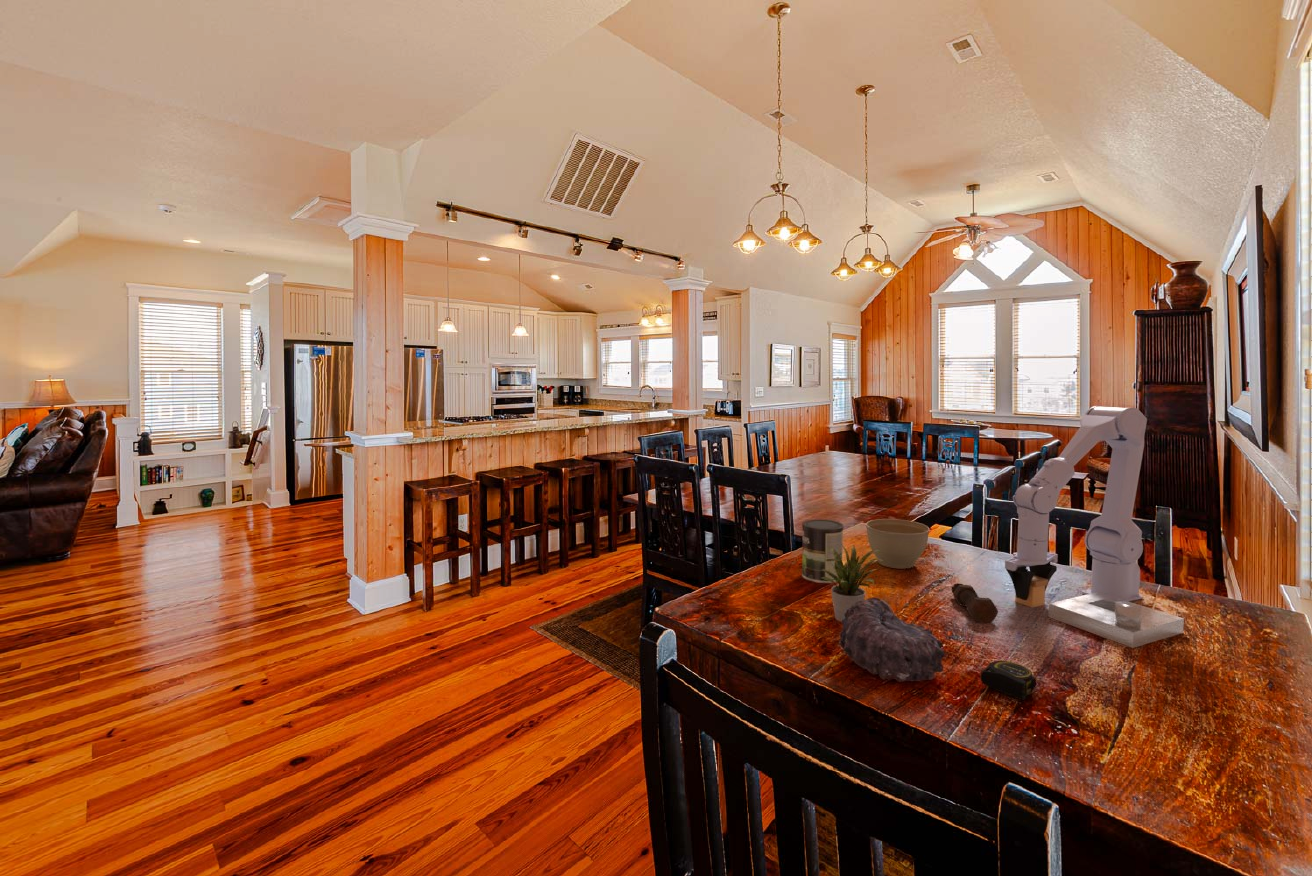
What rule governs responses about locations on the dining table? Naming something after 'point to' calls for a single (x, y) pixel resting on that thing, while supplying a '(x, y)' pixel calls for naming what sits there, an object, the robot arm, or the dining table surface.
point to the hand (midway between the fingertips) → (1029, 596)
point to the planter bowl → (897, 541)
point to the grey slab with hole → (1116, 619)
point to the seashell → (889, 643)
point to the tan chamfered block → (1035, 592)
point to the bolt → (975, 603)
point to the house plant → (848, 581)
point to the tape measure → (1009, 678)
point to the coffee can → (820, 548)
